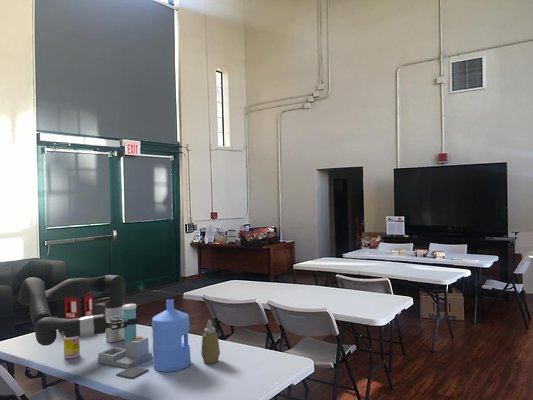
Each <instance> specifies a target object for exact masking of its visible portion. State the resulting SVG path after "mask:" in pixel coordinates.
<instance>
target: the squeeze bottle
mask: <svg viewBox="0 0 533 400" xmlns="http://www.w3.org/2000/svg"><path fill="white" fill-rule="evenodd" d="M220 350H221V349H220V343H219V336H218V332H216V328H215V327H214V326H213V323H212V320H211V319H208V320H207V324H206V327H205V328H204V333H203V334H202V339H201V352H200V353H201V357H202V360H203V363H205V364H208V365H211V364H215V363H218V361H219V358H220V354H221V351H220Z"/></svg>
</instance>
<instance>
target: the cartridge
mask: <svg viewBox="0 0 533 400" xmlns="http://www.w3.org/2000/svg"><path fill="white" fill-rule="evenodd" d="M136 309H137V304H136V303H127V304H124V305H123V313H124V320H126V319H135V318H137V315H136V313H137V312H136ZM136 336H137V324H134V325H128V326H127V327H126V328H124V339H123V340H124V342H125V341H126V342H131V341H135V340H136V339H137V337H136Z"/></svg>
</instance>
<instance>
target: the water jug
mask: <svg viewBox="0 0 533 400" xmlns="http://www.w3.org/2000/svg"><path fill="white" fill-rule="evenodd" d="M165 301H166V305H165V306H166V309H165V310H163V311H162V312H160V313H158V314H156V315H154V316H153V317H152V319H151V320H152V321H151V328H152V331H151V332H152V350H153V351H152V352H153V353H152V358H153V359H152V365H153V368H154V369H155V370H156V371H158V372H162V373H171V372H172V373H173V372H178V371H181V370H184V369H186V368H187V367H189V366H190V364H191V362H192V360H191V359H192V357H191V347H190V345H189V334H188V333H189V332H190V316H189V314H188V313H186V312H183V311H181V310H178V309H175V303H174V301H175V299H172V298H171V299H166V300H165ZM182 337H183V339H182ZM182 341H183V343H182Z"/></svg>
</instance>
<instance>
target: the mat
mask: <svg viewBox="0 0 533 400" xmlns="http://www.w3.org/2000/svg"><path fill="white" fill-rule="evenodd" d="M147 372H149V369H147V368H144V367H143V368H142V367H139V366H132V367H130V368H125V369H124V370H122V371H120V372H117V373H115V376H117V377H122V378H126V379H129V380H134V379H135V378H137V377H139V376H141V375H143V374H146V373H147Z"/></svg>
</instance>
